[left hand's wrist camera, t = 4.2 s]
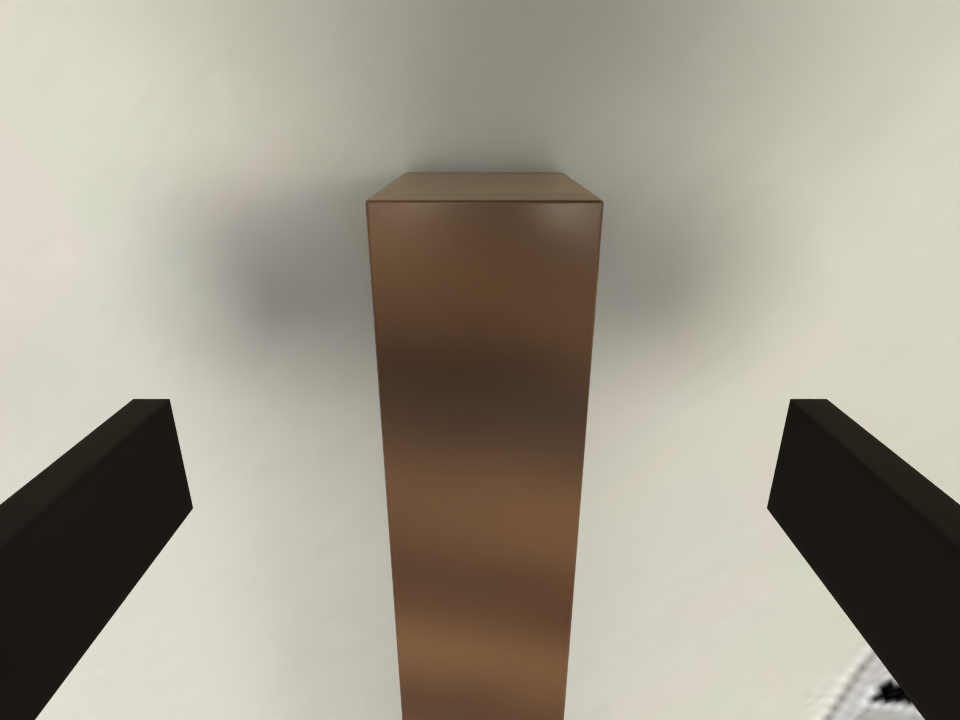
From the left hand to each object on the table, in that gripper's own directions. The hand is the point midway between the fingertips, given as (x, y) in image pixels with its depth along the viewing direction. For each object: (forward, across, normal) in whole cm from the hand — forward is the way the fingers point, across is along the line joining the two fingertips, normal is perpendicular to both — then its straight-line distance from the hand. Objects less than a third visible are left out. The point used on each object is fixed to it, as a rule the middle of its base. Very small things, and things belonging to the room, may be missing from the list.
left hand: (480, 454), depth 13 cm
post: (+11, 0, -32) cm, 34 cm away
